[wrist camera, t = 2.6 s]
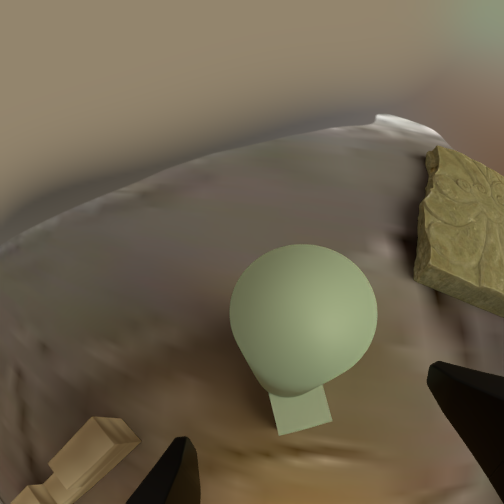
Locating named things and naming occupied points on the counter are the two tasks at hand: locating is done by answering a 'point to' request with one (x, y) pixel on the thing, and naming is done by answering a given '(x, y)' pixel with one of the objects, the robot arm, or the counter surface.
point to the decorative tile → (462, 231)
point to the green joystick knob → (302, 327)
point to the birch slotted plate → (83, 462)
